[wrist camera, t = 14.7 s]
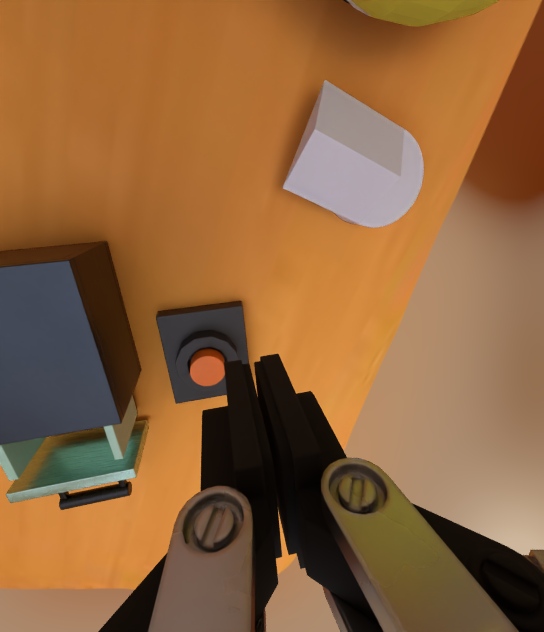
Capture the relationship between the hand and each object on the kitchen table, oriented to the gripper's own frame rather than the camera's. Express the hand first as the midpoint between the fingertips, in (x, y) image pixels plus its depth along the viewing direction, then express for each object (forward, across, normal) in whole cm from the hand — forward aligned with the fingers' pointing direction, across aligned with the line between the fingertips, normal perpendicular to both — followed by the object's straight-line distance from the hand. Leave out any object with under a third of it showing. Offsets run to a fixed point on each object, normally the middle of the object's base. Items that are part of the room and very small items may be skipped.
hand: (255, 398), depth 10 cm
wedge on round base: (+25, -14, -7) cm, 30 cm away
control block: (+25, +3, +11) cm, 28 cm away
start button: (+22, +3, +11) cm, 25 cm away
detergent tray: (+24, +17, +15) cm, 33 cm away
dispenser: (+25, +17, +5) cm, 31 cm away
